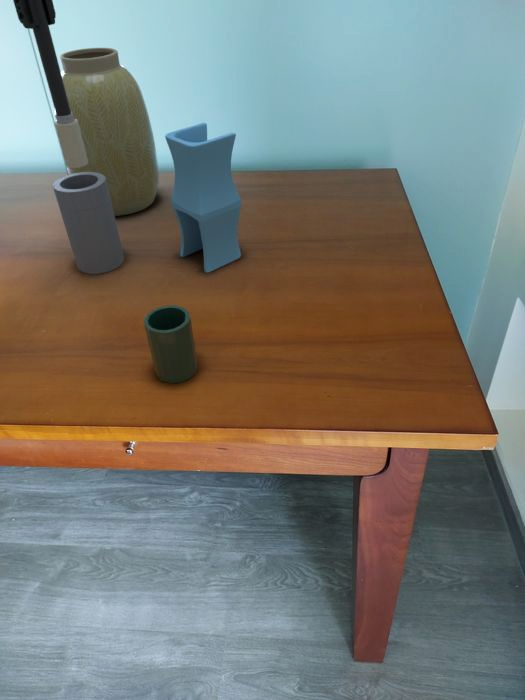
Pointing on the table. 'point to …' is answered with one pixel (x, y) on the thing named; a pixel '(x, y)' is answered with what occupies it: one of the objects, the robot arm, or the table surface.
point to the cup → (89, 221)
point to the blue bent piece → (205, 195)
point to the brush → (59, 95)
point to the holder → (171, 343)
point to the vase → (112, 126)
